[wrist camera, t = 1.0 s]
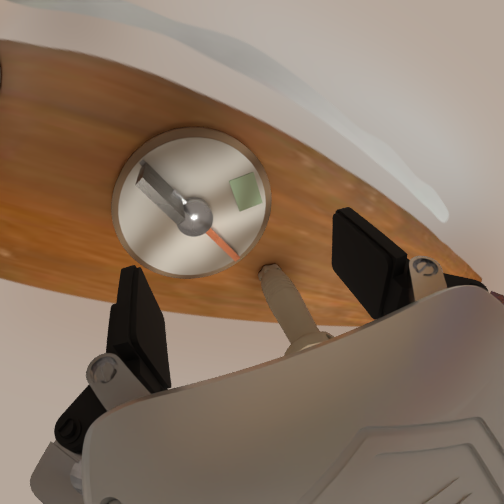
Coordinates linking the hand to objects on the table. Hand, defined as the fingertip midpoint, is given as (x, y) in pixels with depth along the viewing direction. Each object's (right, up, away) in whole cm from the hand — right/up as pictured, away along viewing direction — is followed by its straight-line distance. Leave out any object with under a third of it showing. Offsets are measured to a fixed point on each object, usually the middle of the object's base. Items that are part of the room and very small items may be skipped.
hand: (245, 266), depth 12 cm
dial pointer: (-6, +4, +17) cm, 18 cm away
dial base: (-6, +6, +19) cm, 21 cm away
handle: (+2, -2, +27) cm, 27 cm away
